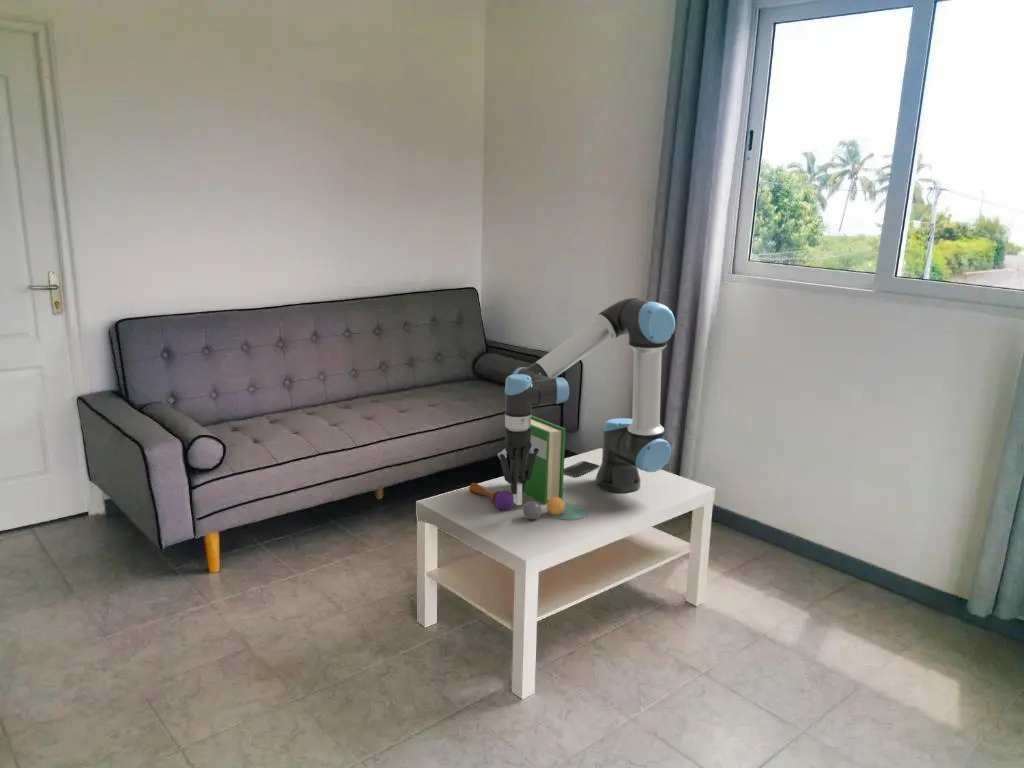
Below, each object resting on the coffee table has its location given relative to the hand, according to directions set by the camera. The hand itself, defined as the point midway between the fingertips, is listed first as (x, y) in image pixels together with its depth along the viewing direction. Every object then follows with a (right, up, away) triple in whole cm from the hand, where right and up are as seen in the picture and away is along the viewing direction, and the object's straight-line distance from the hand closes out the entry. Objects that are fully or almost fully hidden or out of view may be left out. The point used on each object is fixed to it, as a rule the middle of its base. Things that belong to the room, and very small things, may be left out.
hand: (517, 503), depth 224 cm
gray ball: (+4, -3, +3) cm, 6 cm away
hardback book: (+6, -1, +24) cm, 25 cm away
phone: (+23, +4, +46) cm, 52 cm away
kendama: (-8, -2, +16) cm, 19 cm away
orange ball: (+12, -2, +7) cm, 14 cm away
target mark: (+16, -4, +9) cm, 19 cm away
